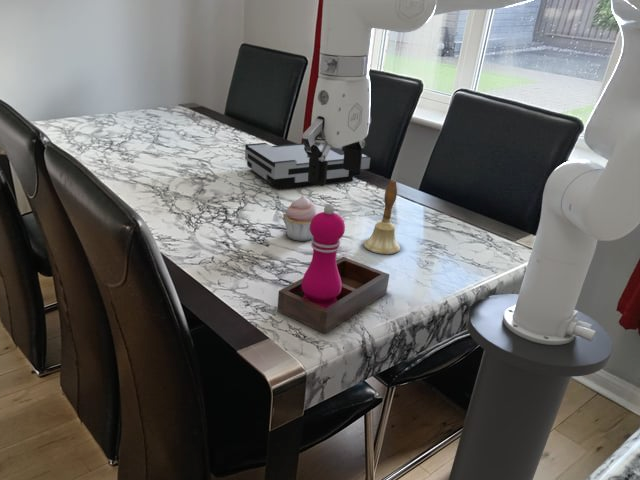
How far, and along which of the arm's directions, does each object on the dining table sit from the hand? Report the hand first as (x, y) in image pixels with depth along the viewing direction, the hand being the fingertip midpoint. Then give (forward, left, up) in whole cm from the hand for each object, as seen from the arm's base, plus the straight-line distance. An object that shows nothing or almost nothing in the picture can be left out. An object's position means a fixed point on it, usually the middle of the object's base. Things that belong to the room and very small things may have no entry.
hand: (334, 176), depth 95 cm
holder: (0, -5, -26) cm, 26 cm away
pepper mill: (0, 0, -25) cm, 25 cm away
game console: (+52, -63, -26) cm, 86 cm away
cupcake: (+24, -25, -26) cm, 43 cm away
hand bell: (+7, -34, -26) cm, 43 cm away
